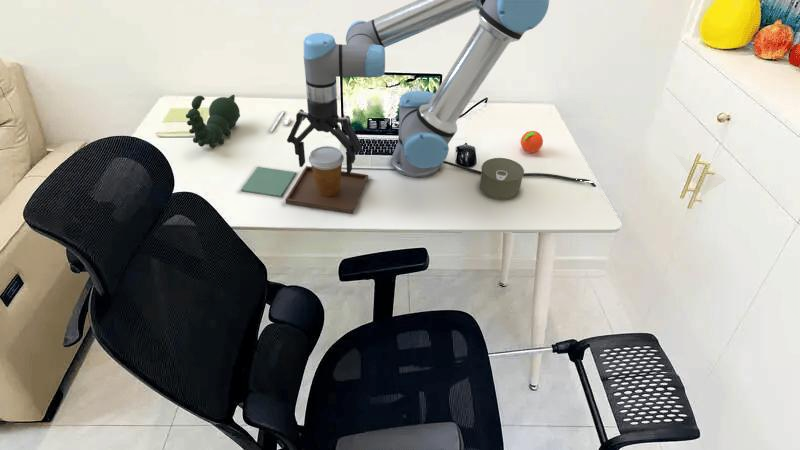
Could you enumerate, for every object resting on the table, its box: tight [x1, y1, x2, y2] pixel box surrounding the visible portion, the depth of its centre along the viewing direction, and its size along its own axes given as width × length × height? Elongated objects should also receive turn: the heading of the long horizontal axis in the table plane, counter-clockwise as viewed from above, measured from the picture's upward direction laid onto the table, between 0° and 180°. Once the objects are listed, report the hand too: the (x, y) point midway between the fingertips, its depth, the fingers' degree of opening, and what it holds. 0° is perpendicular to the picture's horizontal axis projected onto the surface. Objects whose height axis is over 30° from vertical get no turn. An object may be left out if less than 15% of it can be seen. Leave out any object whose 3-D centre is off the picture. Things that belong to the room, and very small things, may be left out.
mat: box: [240, 166, 297, 198], centre depth 157 cm, size 12×12×1 cm
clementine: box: [520, 130, 544, 154], centre depth 172 cm, size 8×7×7 cm
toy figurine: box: [185, 94, 241, 149], centre depth 170 cm, size 9×19×25 cm
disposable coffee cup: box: [308, 145, 345, 196], centre depth 150 cm, size 10×10×12 cm
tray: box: [285, 165, 369, 215], centre depth 154 cm, size 19×17×2 cm
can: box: [479, 157, 525, 201], centre depth 155 cm, size 12×12×7 cm
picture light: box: [270, 111, 291, 132], centre depth 183 cm, size 14×4×2 cm, turn 173°
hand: (325, 168), depth 149 cm, fingers open, 13 cm apart
